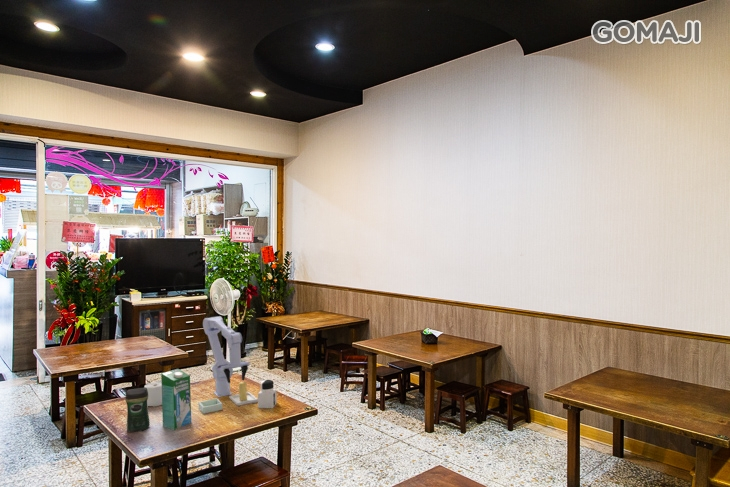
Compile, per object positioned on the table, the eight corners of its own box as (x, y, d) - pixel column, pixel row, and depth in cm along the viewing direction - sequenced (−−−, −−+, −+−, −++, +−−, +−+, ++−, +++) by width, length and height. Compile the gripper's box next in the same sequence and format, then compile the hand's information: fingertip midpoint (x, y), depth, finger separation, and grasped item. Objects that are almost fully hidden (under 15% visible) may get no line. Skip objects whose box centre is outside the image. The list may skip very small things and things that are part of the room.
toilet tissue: (147, 408, 244) (147, 389, 244) (141, 402, 254) (141, 384, 254) (169, 403, 251) (168, 384, 251) (162, 397, 261) (162, 379, 260)
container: (277, 403, 247) (276, 378, 247) (272, 408, 240) (272, 383, 240) (262, 403, 248) (262, 378, 248) (257, 408, 240) (257, 383, 240)
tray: (229, 399, 255) (229, 395, 255) (249, 395, 261) (249, 392, 261) (237, 406, 244) (237, 403, 244) (257, 402, 249) (257, 399, 249)
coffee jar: (150, 424, 223) (149, 385, 223) (148, 430, 216) (147, 390, 216) (127, 427, 220) (126, 387, 220) (125, 433, 213) (123, 392, 213)
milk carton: (174, 430, 215) (173, 375, 215) (162, 426, 220) (161, 373, 220) (191, 423, 223) (190, 370, 223) (179, 419, 228) (177, 368, 227)
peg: (238, 399, 253) (237, 382, 253) (245, 397, 255) (245, 381, 255) (240, 401, 250) (240, 384, 250) (248, 399, 252) (247, 382, 252)
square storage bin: (198, 408, 242) (198, 402, 242) (217, 405, 247) (217, 398, 247) (203, 414, 234) (202, 407, 234) (222, 410, 239) (222, 403, 239)
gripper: (223, 359, 246) (224, 385, 246) (250, 355, 253) (251, 380, 253) (219, 357, 252) (220, 382, 252) (246, 352, 259) (247, 377, 259)
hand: (236, 381), depth 253 cm, fingers open, 7 cm apart
